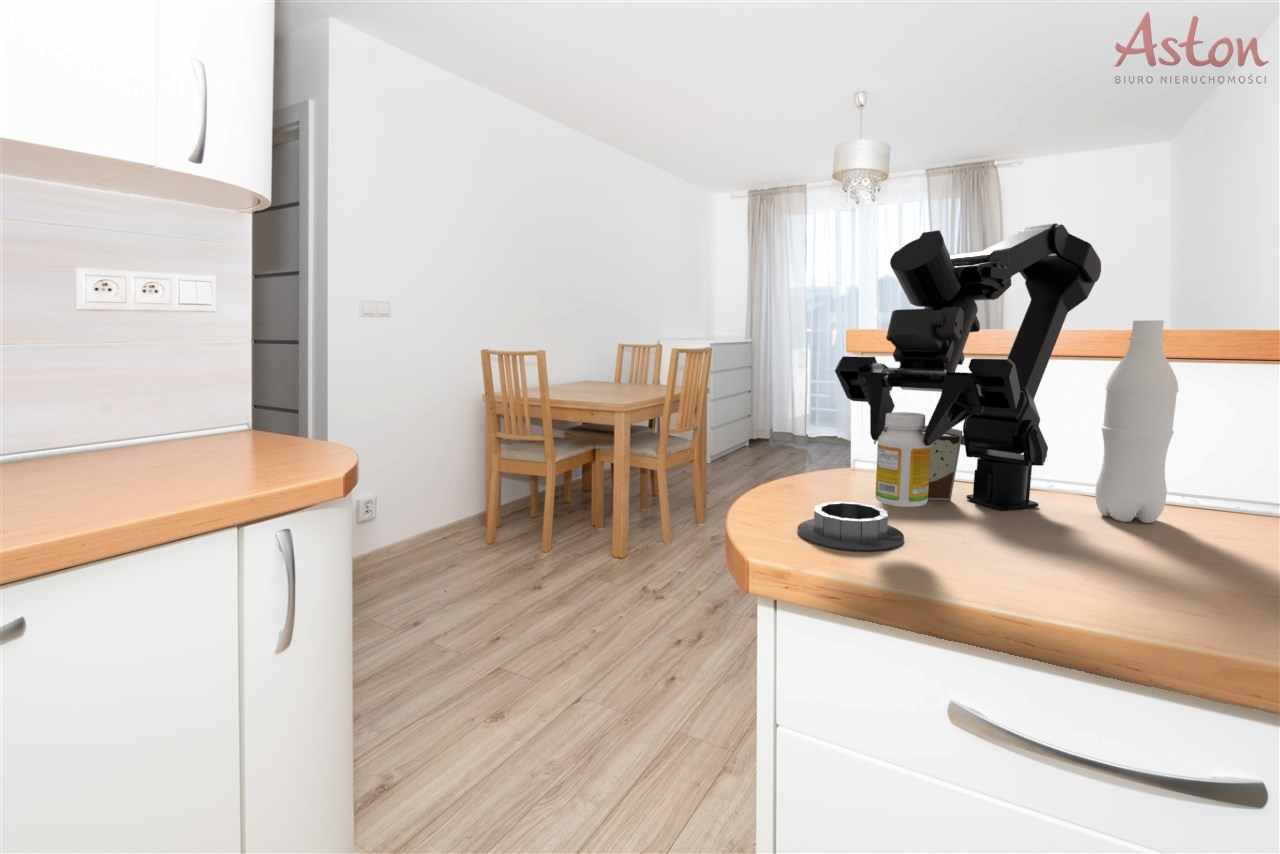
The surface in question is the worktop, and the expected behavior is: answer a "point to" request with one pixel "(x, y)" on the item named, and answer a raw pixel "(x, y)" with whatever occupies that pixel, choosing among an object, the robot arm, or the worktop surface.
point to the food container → (942, 463)
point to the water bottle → (1137, 429)
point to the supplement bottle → (903, 461)
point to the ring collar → (850, 527)
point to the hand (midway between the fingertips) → (898, 440)
